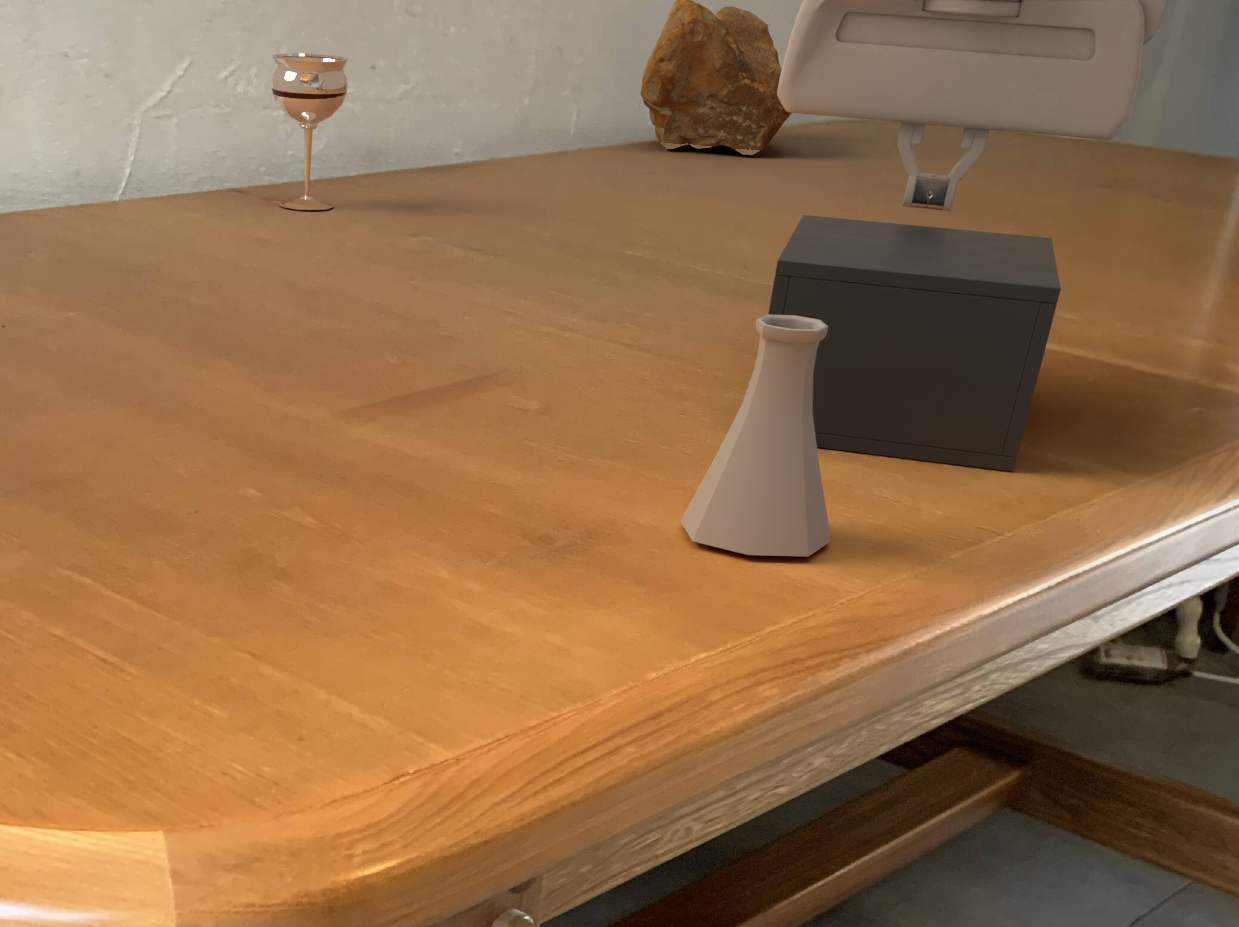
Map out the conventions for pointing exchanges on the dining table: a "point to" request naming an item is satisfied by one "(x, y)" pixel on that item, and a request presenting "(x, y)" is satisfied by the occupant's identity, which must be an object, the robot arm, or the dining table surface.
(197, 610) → the dining table surface
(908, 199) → the robot arm
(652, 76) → the rough brown rock
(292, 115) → the wineglass
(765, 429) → the flask
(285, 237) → the dining table surface
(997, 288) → the cabinet
